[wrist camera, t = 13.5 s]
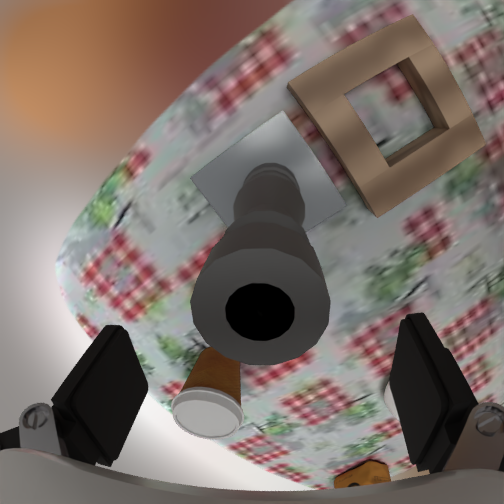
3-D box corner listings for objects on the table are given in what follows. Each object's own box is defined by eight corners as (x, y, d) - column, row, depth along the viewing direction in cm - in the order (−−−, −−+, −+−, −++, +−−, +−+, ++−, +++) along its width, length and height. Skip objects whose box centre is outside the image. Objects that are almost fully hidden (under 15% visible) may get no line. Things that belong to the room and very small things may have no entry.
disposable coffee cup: (222, 327, 44) (207, 387, 33) (263, 368, 47) (258, 429, 36) (176, 353, 47) (154, 410, 36) (216, 389, 50) (204, 447, 39)
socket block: (469, 141, 32) (486, 144, 28) (367, 208, 36) (377, 218, 33) (400, 23, 27) (412, 14, 23) (286, 87, 32) (288, 82, 28)
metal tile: (345, 203, 36) (347, 205, 36) (256, 261, 40) (256, 263, 39) (282, 110, 33) (282, 110, 32) (191, 176, 37) (189, 178, 36)
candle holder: (293, 220, 37) (314, 377, 14) (240, 210, 37) (181, 355, 14) (303, 167, 35) (356, 256, 11) (248, 158, 35) (189, 227, 12)
